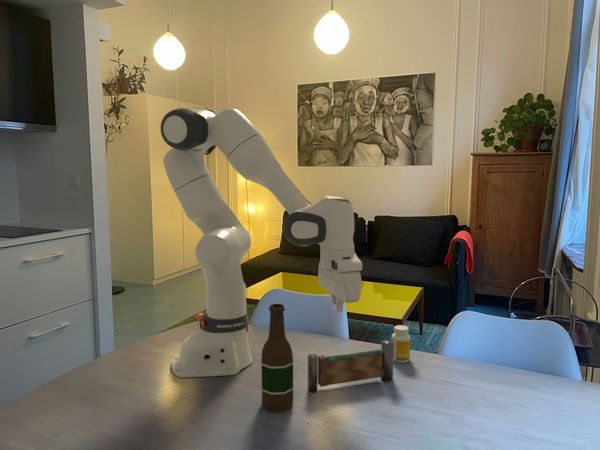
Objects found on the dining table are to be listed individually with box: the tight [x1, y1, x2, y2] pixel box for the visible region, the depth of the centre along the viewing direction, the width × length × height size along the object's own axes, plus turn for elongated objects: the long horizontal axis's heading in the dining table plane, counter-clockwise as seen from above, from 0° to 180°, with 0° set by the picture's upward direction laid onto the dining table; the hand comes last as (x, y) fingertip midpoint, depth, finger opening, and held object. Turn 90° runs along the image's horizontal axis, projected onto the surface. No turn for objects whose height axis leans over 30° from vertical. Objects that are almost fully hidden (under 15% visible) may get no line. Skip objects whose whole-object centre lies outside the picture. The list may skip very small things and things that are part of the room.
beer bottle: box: [261, 303, 294, 414], centre depth 106 cm, size 8×8×24 cm
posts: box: [307, 339, 394, 394], centre depth 117 cm, size 24×3×10 cm, turn 108°
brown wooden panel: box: [317, 348, 382, 387], centre depth 117 cm, size 17×2×7 cm, turn 108°
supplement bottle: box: [390, 324, 411, 364], centre depth 133 cm, size 5×5×10 cm
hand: (337, 310), depth 120 cm, fingers closed
